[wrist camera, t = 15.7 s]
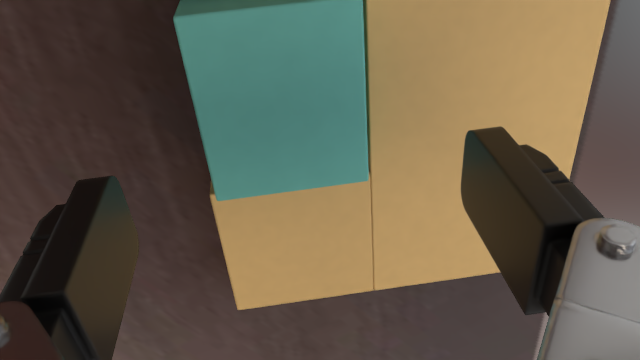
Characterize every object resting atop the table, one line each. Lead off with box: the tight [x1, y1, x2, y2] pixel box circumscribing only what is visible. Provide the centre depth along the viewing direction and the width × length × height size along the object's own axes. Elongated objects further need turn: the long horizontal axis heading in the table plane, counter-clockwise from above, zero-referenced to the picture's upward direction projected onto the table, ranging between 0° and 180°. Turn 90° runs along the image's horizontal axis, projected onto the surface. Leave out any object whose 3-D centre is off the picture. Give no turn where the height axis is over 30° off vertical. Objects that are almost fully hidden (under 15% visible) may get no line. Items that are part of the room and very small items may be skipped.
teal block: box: [173, 0, 369, 201], centre depth 17 cm, size 6×5×4 cm
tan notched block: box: [210, 0, 611, 310], centre depth 18 cm, size 20×14×2 cm
